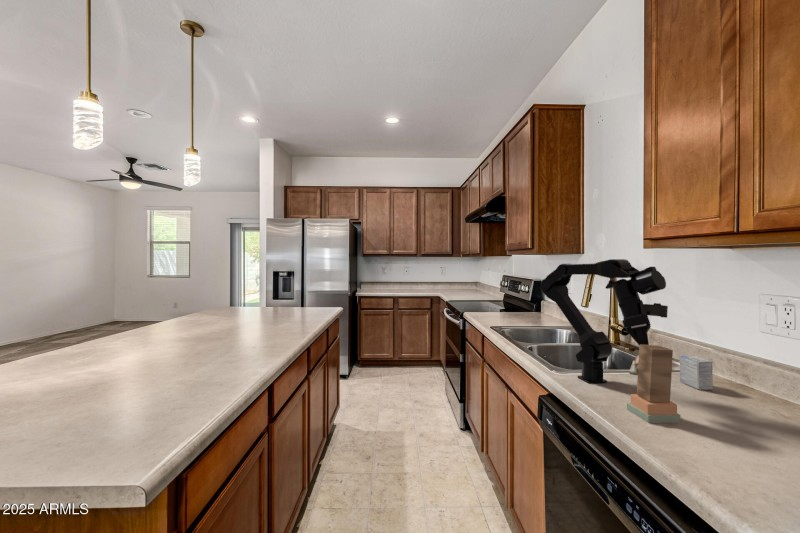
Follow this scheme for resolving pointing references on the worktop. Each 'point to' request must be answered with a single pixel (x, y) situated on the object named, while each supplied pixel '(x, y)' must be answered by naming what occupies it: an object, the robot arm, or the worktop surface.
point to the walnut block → (654, 373)
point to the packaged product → (634, 366)
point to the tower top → (653, 406)
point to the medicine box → (696, 372)
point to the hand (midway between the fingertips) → (647, 351)
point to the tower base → (652, 417)
